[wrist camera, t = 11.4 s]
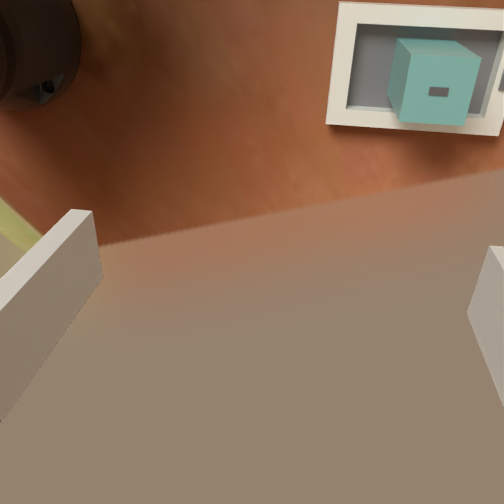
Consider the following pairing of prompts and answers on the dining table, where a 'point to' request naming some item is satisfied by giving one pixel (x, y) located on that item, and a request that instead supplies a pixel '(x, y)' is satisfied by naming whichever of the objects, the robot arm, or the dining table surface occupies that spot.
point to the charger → (432, 81)
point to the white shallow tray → (381, 57)
